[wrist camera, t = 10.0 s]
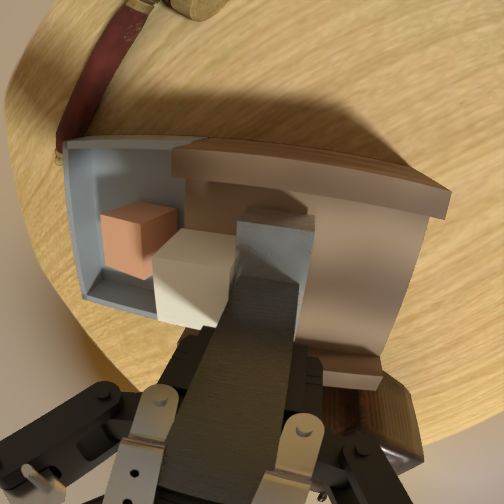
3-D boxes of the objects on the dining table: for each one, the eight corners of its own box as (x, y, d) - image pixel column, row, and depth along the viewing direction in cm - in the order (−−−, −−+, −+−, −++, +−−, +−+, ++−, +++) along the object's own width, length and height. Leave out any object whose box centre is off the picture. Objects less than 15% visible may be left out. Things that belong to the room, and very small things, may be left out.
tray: (89, 135, 22) (62, 141, 19) (209, 137, 21) (191, 141, 18) (102, 280, 28) (82, 298, 25) (204, 303, 27) (190, 327, 24)
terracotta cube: (177, 208, 22) (137, 200, 23) (140, 224, 19) (100, 214, 20) (177, 258, 24) (139, 247, 25) (144, 280, 20) (105, 265, 22)
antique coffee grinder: (275, 400, 31) (242, 554, 15) (352, 347, 26) (357, 544, 10) (364, 445, 33) (361, 567, 17) (434, 406, 28) (457, 541, 12)
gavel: (75, 206, 22) (13, 142, 20) (108, 188, 26) (46, 132, 24) (228, -40, 12) (125, -74, 10) (247, -17, 15) (154, -56, 14)
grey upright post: (247, 205, 17) (105, 421, 5) (314, 215, 16) (304, 472, 4) (238, 331, 20) (167, 523, 8) (291, 340, 20) (256, 544, 8)
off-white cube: (181, 228, 18) (151, 256, 15) (246, 237, 18) (229, 269, 14) (182, 284, 20) (157, 320, 17) (242, 295, 20) (226, 335, 16)
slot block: (213, 137, 21) (171, 148, 14) (411, 167, 19) (451, 191, 13) (207, 304, 27) (178, 358, 21) (366, 329, 25) (375, 390, 19)
